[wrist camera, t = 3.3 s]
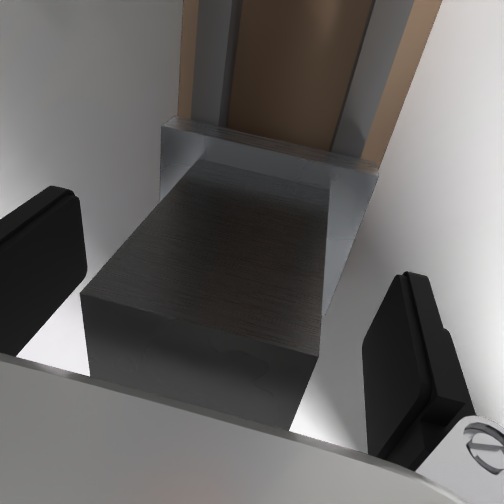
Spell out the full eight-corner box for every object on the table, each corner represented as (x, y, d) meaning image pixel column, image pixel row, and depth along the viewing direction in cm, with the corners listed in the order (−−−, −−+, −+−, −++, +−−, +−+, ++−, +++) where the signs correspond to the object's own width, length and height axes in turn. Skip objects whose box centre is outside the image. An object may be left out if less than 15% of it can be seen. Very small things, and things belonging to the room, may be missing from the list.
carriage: (373, 147, 14) (412, 345, 6) (327, 274, 17) (315, 506, 10) (189, 105, 14) (3, 239, 7) (180, 237, 18) (52, 428, 10)
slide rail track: (665, -637, 7) (930, -1155, 4) (330, 279, 20) (328, 334, 17) (242, -672, 8) (169, -1156, 4) (180, 241, 20) (150, 287, 17)
